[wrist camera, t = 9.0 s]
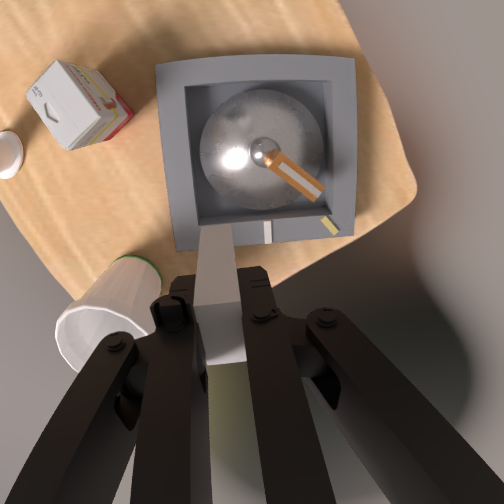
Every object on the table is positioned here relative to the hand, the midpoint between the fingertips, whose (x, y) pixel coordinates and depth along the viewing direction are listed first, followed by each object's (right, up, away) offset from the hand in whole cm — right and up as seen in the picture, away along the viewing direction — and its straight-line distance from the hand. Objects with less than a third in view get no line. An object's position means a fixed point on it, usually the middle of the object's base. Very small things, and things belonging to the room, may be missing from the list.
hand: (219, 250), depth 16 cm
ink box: (-17, +18, +17) cm, 30 cm away
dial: (+3, +12, +20) cm, 23 cm away
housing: (+2, +13, +21) cm, 25 cm away
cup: (-15, -4, +28) cm, 32 cm away
